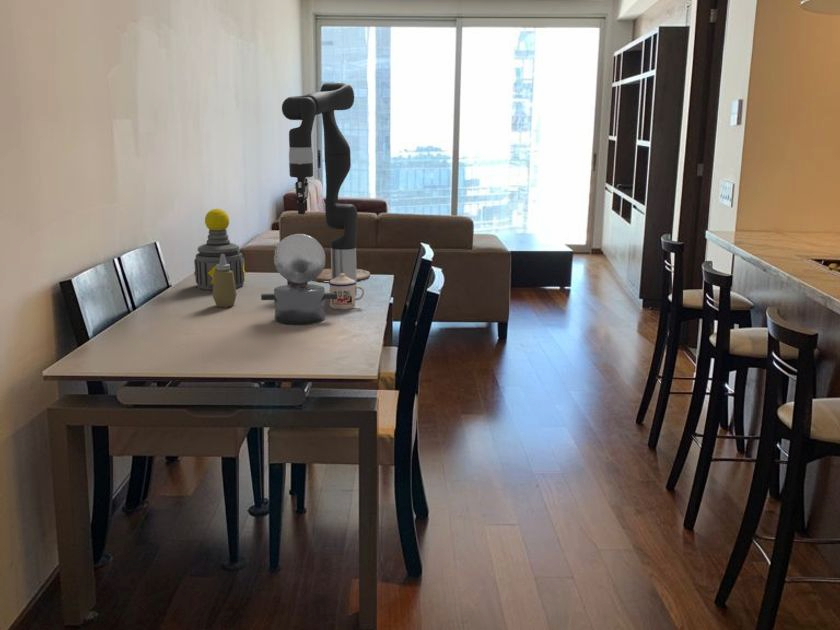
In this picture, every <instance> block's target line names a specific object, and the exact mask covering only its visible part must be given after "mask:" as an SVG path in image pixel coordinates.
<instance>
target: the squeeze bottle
mask: <svg viewBox="0 0 840 630" xmlns="http://www.w3.org/2000/svg"><path fill="white" fill-rule="evenodd" d="M216 270H217V271H215V272H214V279H213V290H212V298H213V300H214V303H215V306H217V307H220V308H229V307H232V306H234V305H235V302H236V298H237V288H236V287H235V281H234V274H233V271H231V270H230V264H227V262H226V259H225V255H224V254H221V256H220V262H219V264H217V265H216Z"/></svg>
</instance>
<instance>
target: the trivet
mask: <svg viewBox="0 0 840 630" xmlns="http://www.w3.org/2000/svg"><path fill="white" fill-rule="evenodd" d="M356 273H357V282H361V281H360V280H363V281H366V280H368V279H370V278H371V272H370V271H368V270H366V269H359V268H356ZM369 277H370V278H369ZM365 279H366V280H365ZM314 280H317V281H316V282H319V281H329V282H330V280H332V275H331V268H324V269H323V271H322V272H321V274H320V275H319V276H318V277H317V278H315V279H314ZM314 280H313V281H314Z"/></svg>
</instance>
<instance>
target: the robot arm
mask: <svg viewBox="0 0 840 630" xmlns="http://www.w3.org/2000/svg"><path fill="white" fill-rule="evenodd" d="M354 102H355V92H354V89H353V86H352V85H350V83H348V82H347V83H346V82H325V83H323V84H322V85H321V87H320V91H315V92H312V93H311V92H309V93H307V94H305V95H296V96H288V97H287V98H285V99H284V101H283V102H282V104H281V112H282V114H283V116H284V117H285V118H286V119H288V120H290V121H301V123H300V125H299V126H298V127H293V128H291V129H289V132H288V145H289V149H288V150H289V151H288V162H289V163H288V165H289V167H288V168H289V171H288V172H289V177H291V178H297V179H296V181H295V183H294V187H295V196H296V197H295V201H296V203H297V214H298V215H305V214H306V212H307V211H308V197H309V182H308V178H312V177H313V176H314V157H313V156H314V155H313V148H312V147H313V146H312V145H313V144H312V131H313V126H314V122H315V118H316V115H321V117H322V118H321V119H322V127H323V141H324V142H323V145H324V146H323V147H324V148H323V149H324V150H323V152H324V156H323V157H324V169H325V170H324V171H325V214H324V215H325V222H326V226H327V227H328V228H329V229H332V230H344V231H343V235H341V236H339V237H337V238H334V239H332V240H331V241H330V264H331V265H330V267H331V268H330V269H331V275H332V280H333V279H335V278H336V277H339V274H341V273H344V274H345V276H346V277H348V278H350V279H353V280H355V282H356V283H355V286H358V285H357V283H358V281H357V273H356V269H357V240H358V209H357V207H356V206H355V204H351V203H339V192H340V189H341V187H342V185H343V183H344V182H345V179H346V178H347V176H348V174H349V172H350V170H351V165H352V164H351V163H352V161H351V160H352V159H351V147H350V145H349V142H348V141H347V140H346V139H347V138H345V136H344V134H343V133H342V131H341V130H340V128H339V126H338V124H337V122H336V115H335V111H348V110H350V109H351V108H352V107H353V105H354ZM357 292H358V288H355V295H357Z"/></svg>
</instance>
